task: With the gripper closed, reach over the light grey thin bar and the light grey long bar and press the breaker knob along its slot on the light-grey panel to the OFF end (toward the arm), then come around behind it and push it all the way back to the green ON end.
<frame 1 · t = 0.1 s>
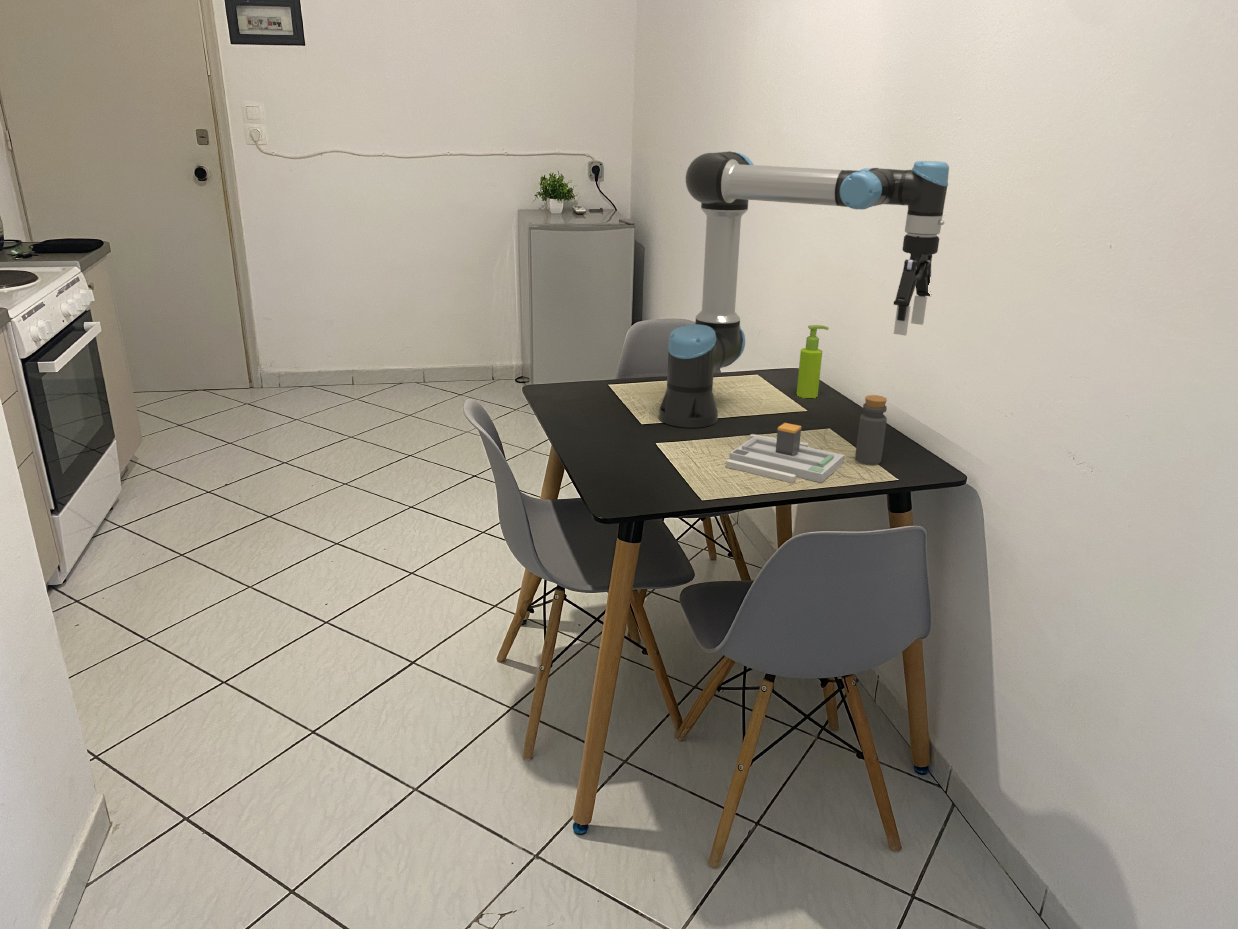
hand: (908, 329, 204), 28 cm above the table, fingers open, 13 cm apart
bottle: (867, 461, 203), on the table
panel: (786, 462, 201), on the table
soap dispenser: (808, 396, 249), on the table
light grey thin bar: (778, 444, 211), on the table
breaker knob: (788, 439, 199), point 6 cm above the table, slide at 6.0 cm
light grey long bar: (759, 473, 194), on the table
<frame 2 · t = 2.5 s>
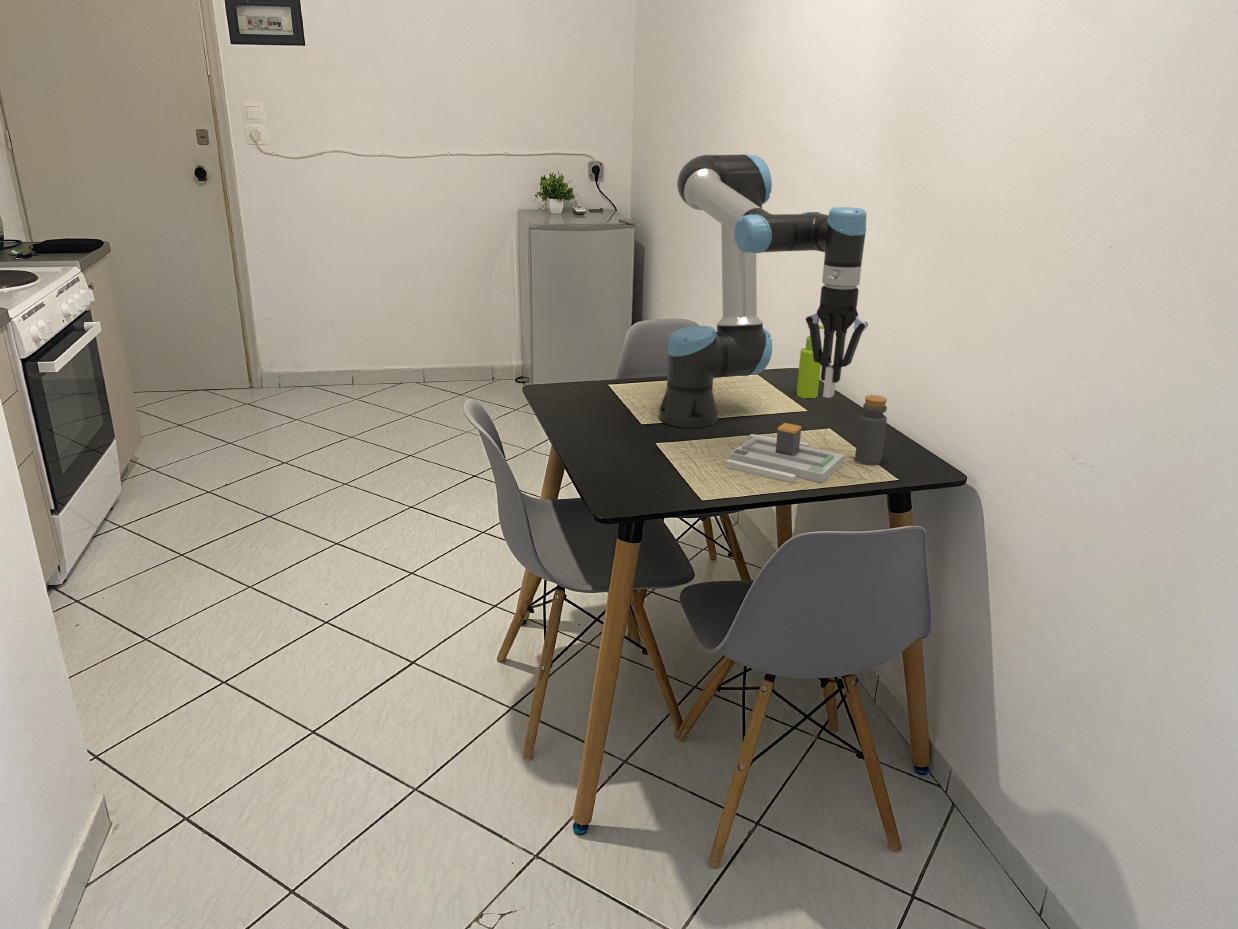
hand: (828, 395, 190), 17 cm above the table, fingers closed
nothing on the table moved.
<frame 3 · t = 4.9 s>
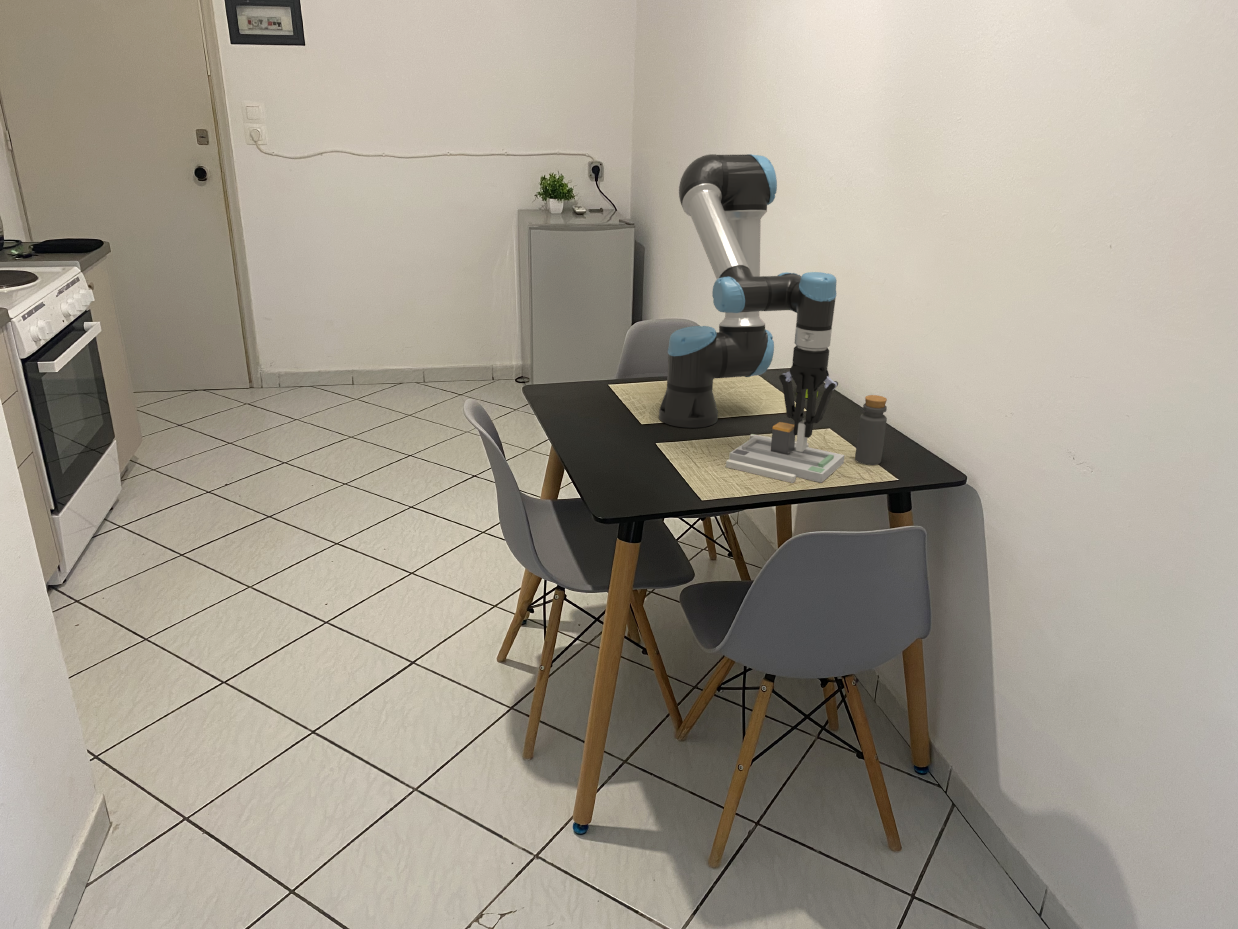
hand: (801, 449, 198), 4 cm above the table, fingers closed
breaker knob: (783, 438, 199), point 5 cm above the table, slide at 4.8 cm, touching gripper
everything else where it was.
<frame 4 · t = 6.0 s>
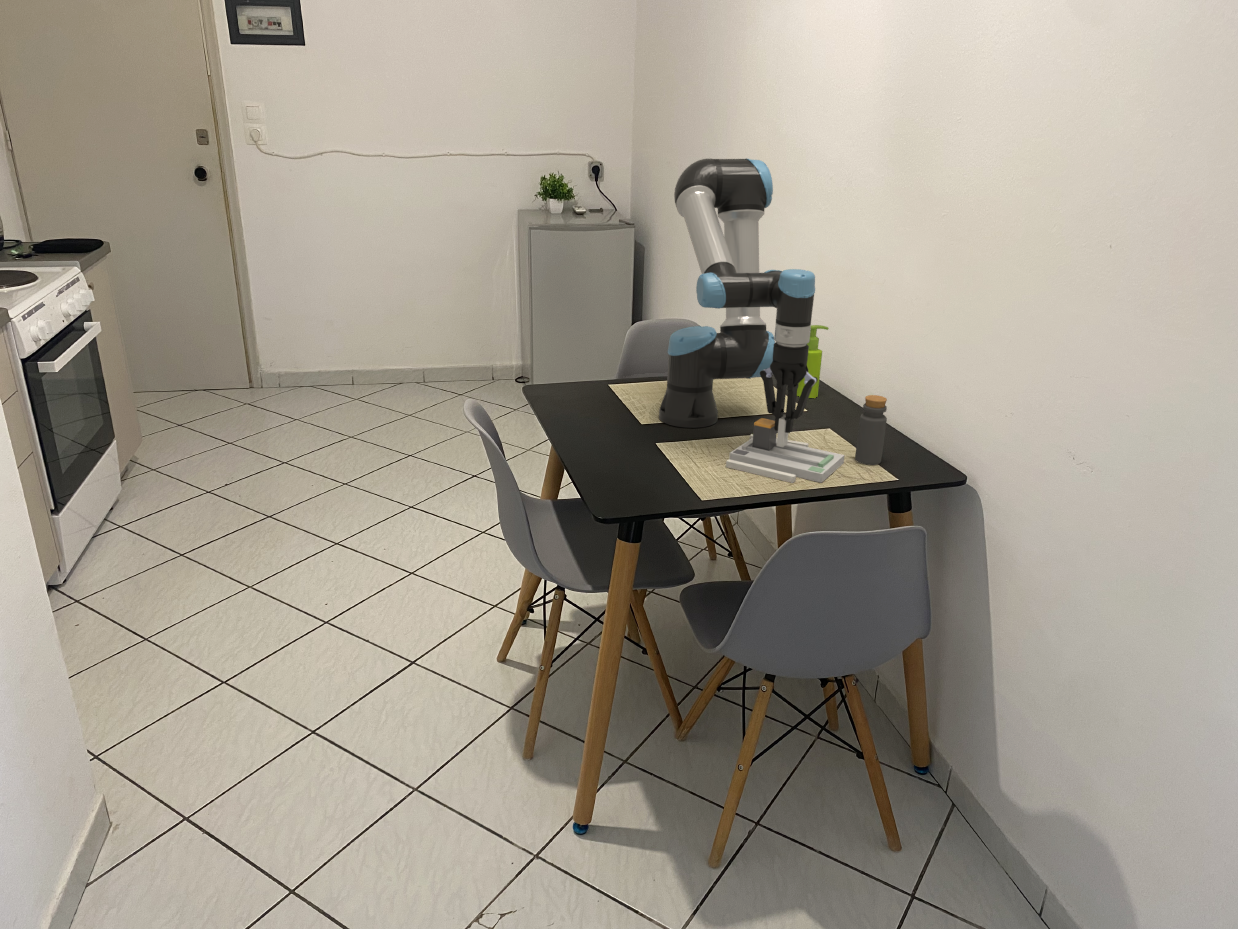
hand: (781, 444, 200), 4 cm above the table, fingers closed
breaker knob: (764, 434, 202), point 6 cm above the table, slide at 0.3 cm, touching gripper
everything else where it was.
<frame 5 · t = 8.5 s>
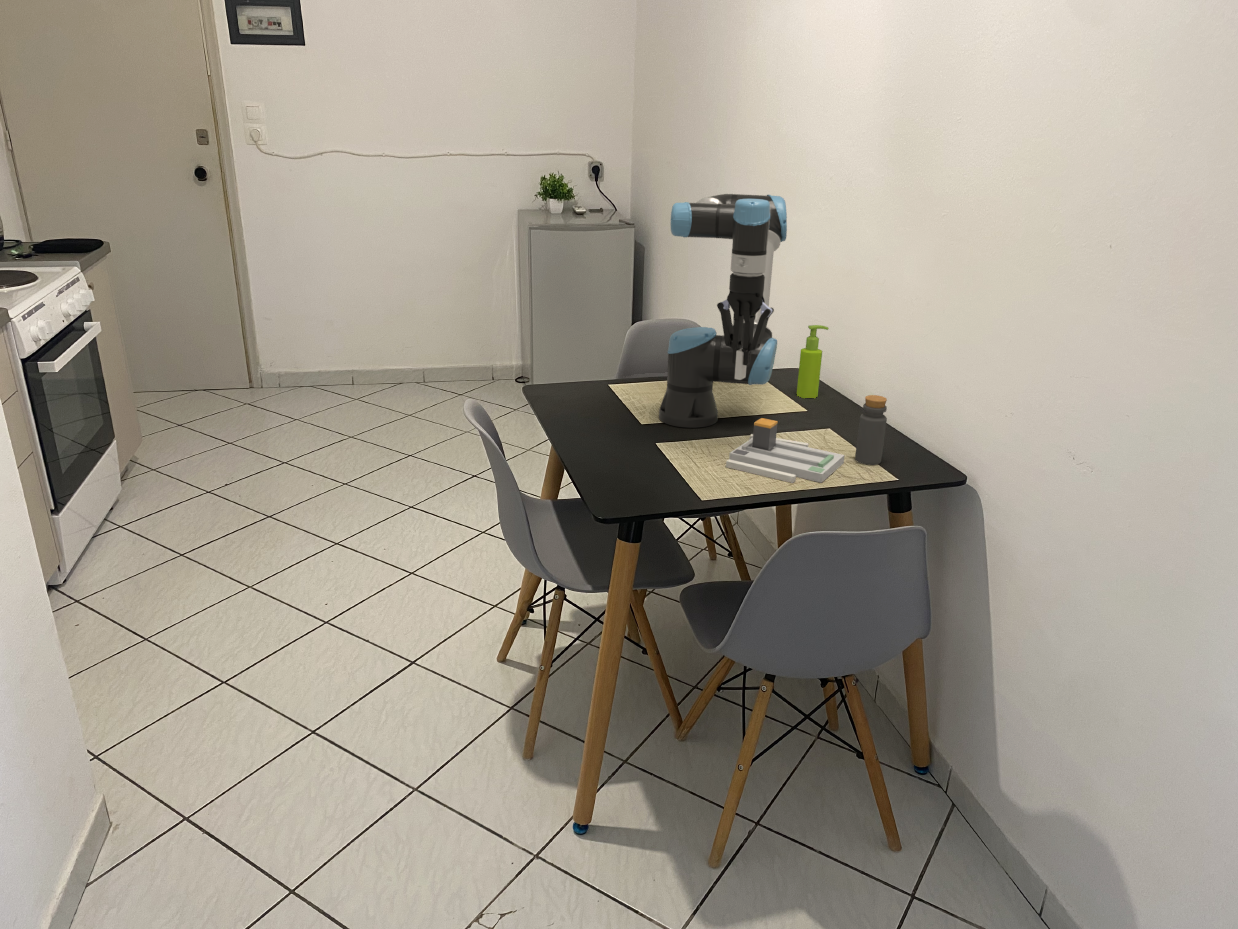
hand: (740, 378, 201), 18 cm above the table, fingers closed
breaker knob: (764, 434, 202), point 6 cm above the table, slide at 0.2 cm
everything else where it was.
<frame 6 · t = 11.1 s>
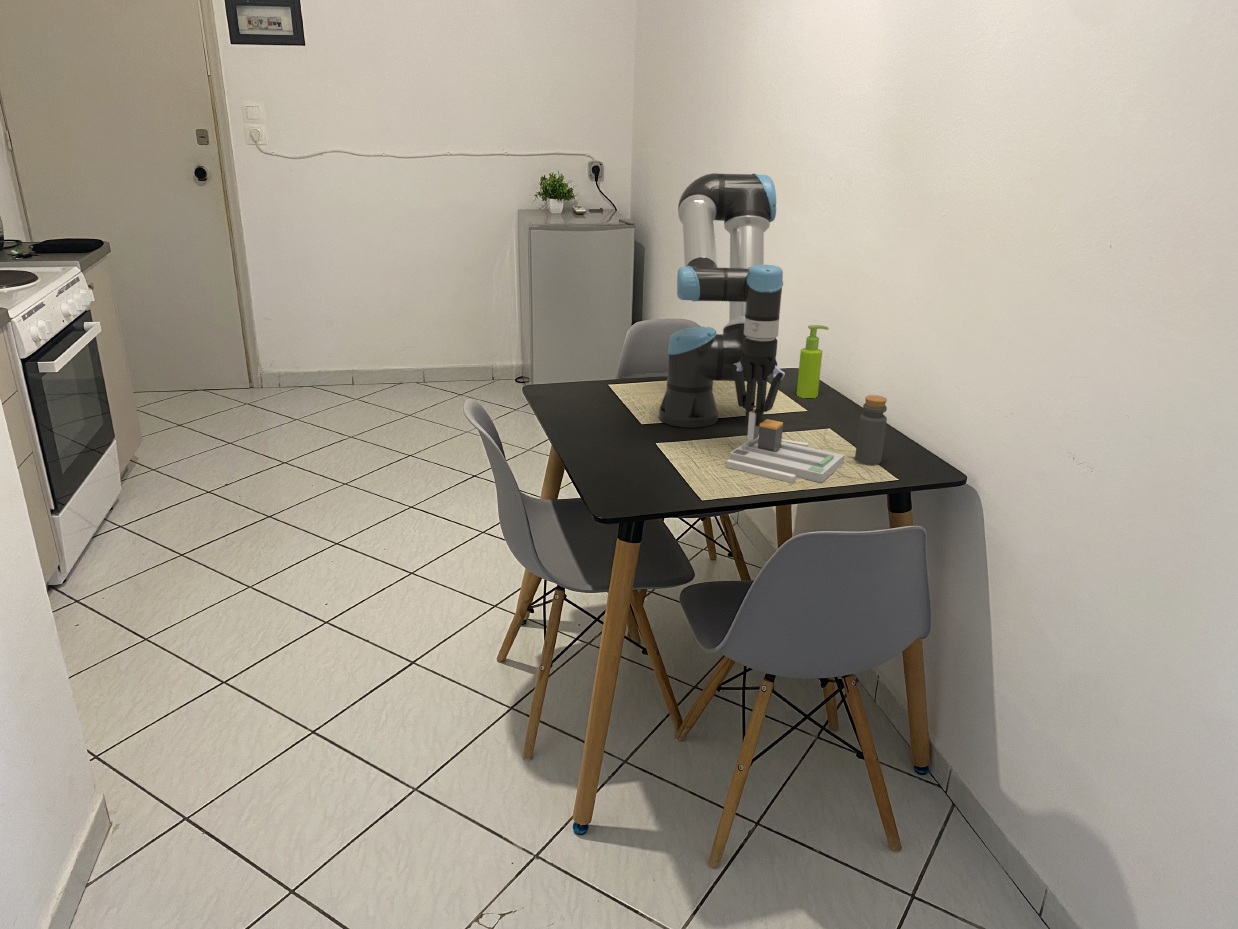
hand: (752, 438, 203), 4 cm above the table, fingers closed
breaker knob: (770, 435, 201), point 6 cm above the table, slide at 1.6 cm, touching gripper
everything else where it was.
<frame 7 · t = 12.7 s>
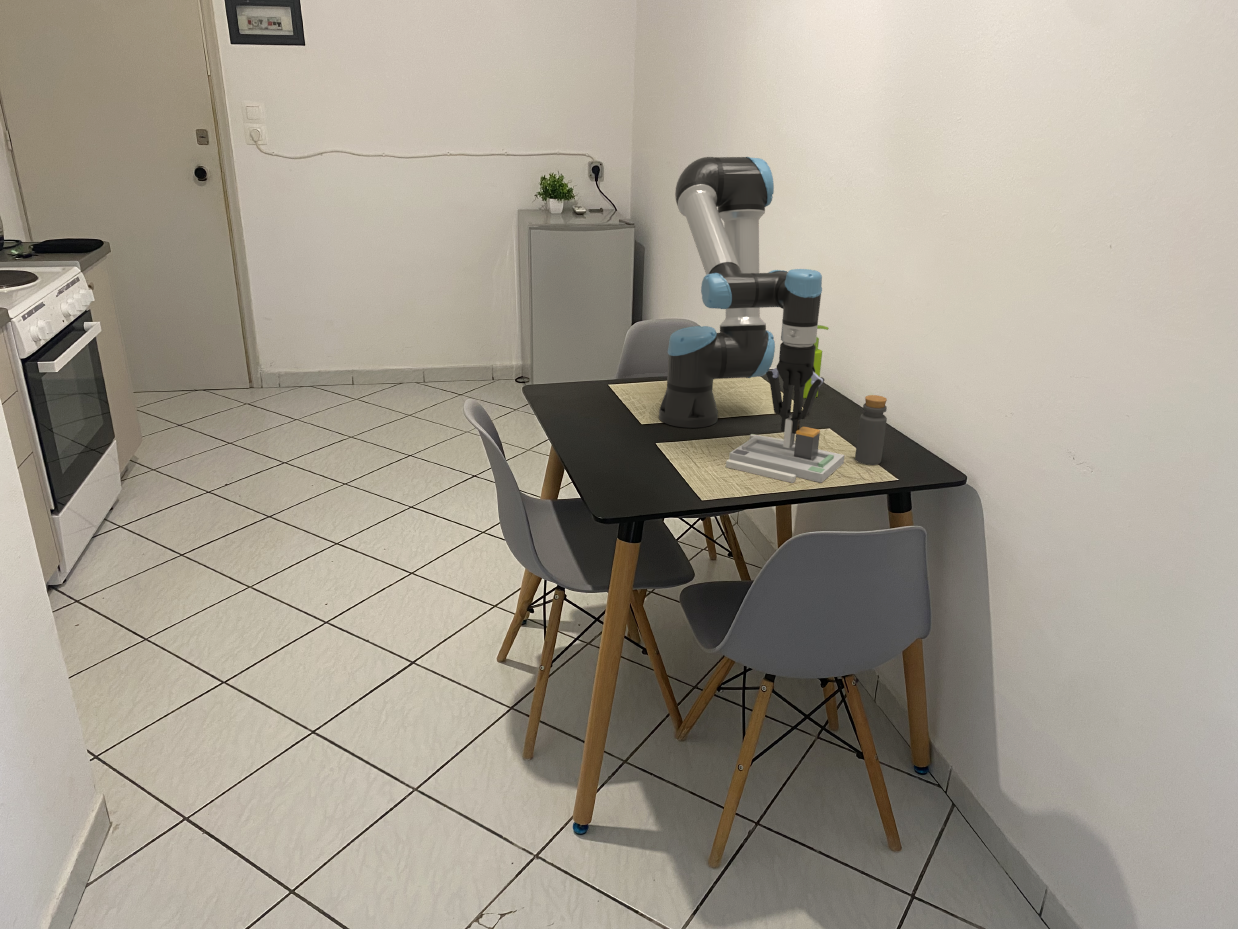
hand: (788, 445, 199), 4 cm above the table, fingers closed
breaker knob: (806, 443, 197), point 5 cm above the table, slide at 10.4 cm, touching gripper
everything else where it was.
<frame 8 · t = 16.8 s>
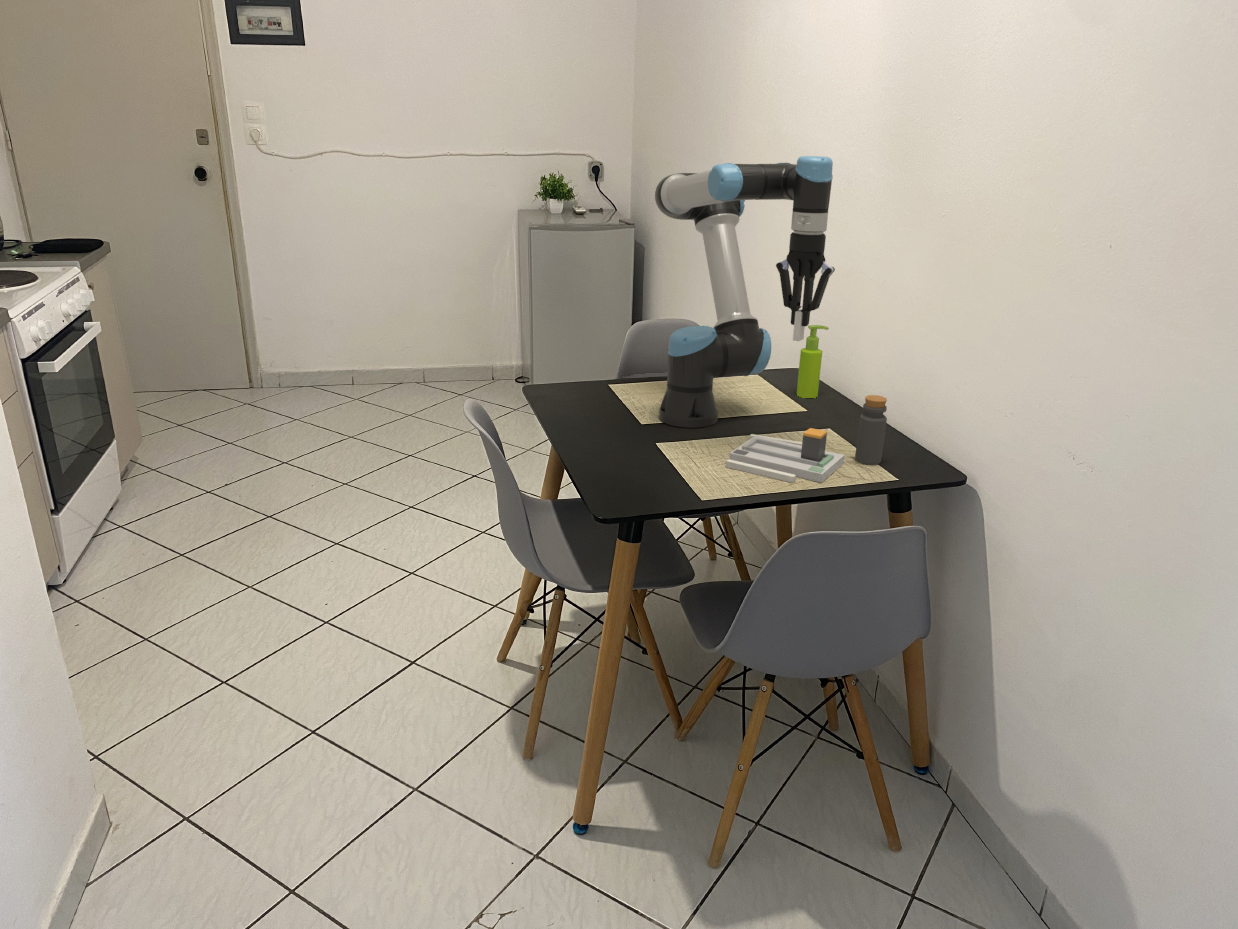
hand: (798, 339, 199), 26 cm above the table, fingers closed
breaker knob: (813, 444, 196), point 5 cm above the table, slide at 12.0 cm
everything else where it was.
at the end: breaker knob slide at 12.0 cm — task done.
